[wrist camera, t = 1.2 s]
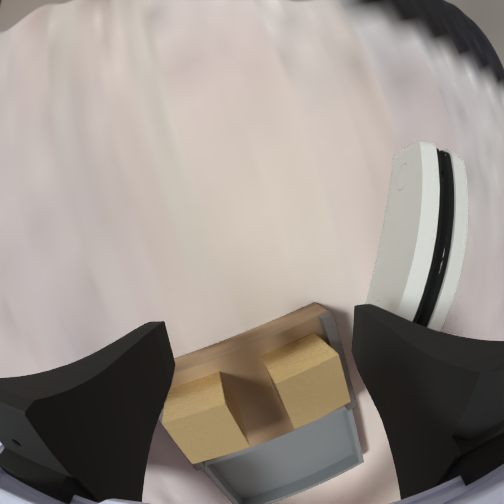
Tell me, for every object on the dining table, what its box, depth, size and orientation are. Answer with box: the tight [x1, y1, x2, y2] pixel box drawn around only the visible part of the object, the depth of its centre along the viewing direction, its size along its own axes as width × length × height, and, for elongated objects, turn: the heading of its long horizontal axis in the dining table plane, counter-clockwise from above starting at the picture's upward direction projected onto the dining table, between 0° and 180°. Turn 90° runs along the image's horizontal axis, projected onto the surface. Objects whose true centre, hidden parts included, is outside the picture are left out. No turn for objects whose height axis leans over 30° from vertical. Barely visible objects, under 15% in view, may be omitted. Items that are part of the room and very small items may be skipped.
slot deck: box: [159, 302, 357, 470], centre depth 20 cm, size 14×9×3 cm, turn 110°
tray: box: [203, 407, 364, 504], centre depth 22 cm, size 14×10×2 cm
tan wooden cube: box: [260, 332, 351, 429], centre depth 18 cm, size 4×4×4 cm
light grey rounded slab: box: [365, 141, 468, 332], centre depth 19 cm, size 17×5×10 cm, turn 167°
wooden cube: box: [162, 372, 250, 464], centre depth 17 cm, size 4×4×4 cm
